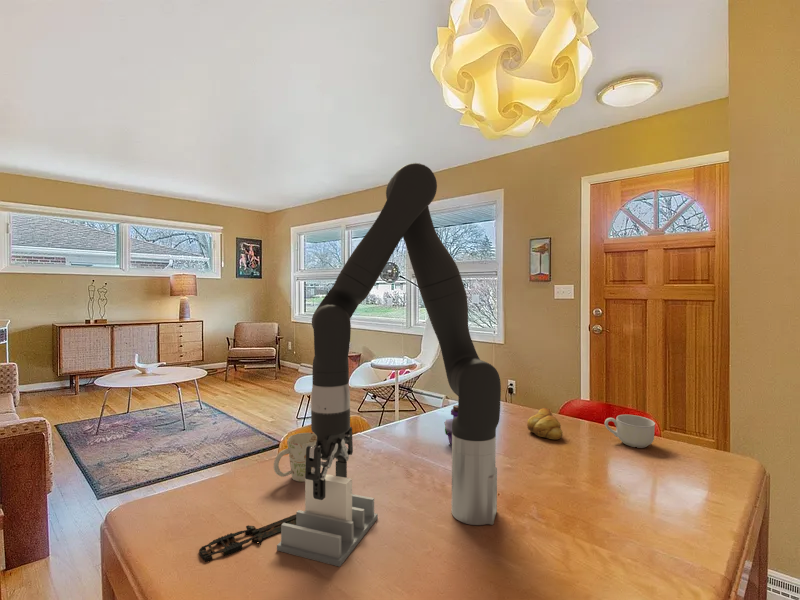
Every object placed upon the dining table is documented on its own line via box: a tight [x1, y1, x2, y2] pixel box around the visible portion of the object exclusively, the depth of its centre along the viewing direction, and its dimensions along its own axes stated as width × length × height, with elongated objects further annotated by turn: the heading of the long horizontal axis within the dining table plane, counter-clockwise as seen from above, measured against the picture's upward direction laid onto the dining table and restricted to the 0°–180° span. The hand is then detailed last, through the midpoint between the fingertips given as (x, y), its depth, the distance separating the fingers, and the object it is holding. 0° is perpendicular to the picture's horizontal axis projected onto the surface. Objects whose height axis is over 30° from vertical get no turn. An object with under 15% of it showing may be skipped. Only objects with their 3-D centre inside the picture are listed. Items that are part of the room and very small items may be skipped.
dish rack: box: [276, 493, 378, 568], centre depth 81 cm, size 16×13×4 cm
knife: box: [198, 513, 296, 563], centre depth 81 cm, size 25×6×1 cm, turn 126°
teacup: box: [604, 414, 656, 449], centre depth 131 cm, size 14×11×8 cm
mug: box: [273, 432, 317, 483], centre depth 105 cm, size 8×13×10 cm, turn 137°
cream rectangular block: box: [304, 473, 353, 521], centre depth 81 cm, size 2×9×10 cm, turn 70°
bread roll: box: [526, 407, 564, 440], centre depth 138 cm, size 13×10×8 cm
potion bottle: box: [444, 404, 458, 446], centre depth 130 cm, size 9×9×12 cm
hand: (330, 488), depth 81 cm, fingers open, 8 cm apart
